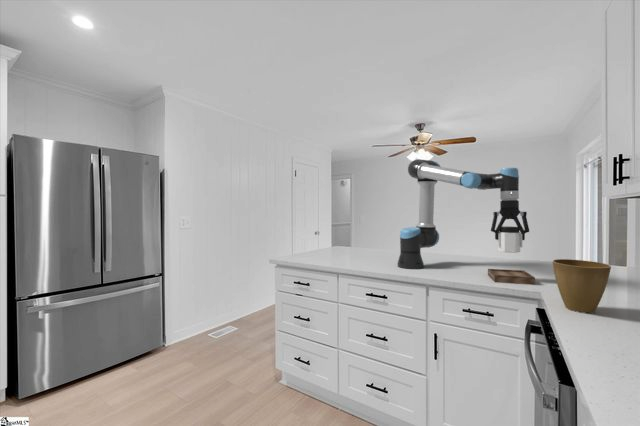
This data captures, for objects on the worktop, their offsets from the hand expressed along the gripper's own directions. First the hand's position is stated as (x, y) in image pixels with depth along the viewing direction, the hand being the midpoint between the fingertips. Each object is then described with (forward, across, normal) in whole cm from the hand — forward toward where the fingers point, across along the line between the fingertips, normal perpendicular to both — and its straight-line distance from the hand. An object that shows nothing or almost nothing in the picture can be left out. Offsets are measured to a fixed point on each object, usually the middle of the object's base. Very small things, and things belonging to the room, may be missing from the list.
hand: (509, 246), depth 145 cm
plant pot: (+16, +11, -42) cm, 47 cm away
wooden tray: (+16, 0, 0) cm, 16 cm away
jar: (+3, 0, 0) cm, 3 cm away
